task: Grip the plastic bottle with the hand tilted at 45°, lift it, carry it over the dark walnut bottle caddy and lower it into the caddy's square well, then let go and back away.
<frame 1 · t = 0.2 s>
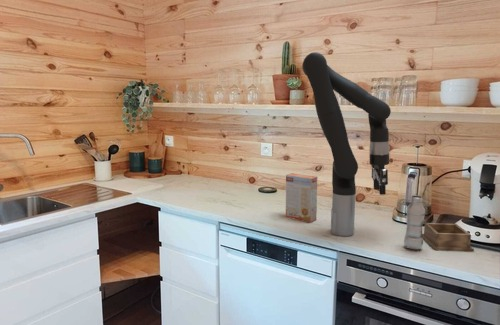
hand: (379, 191, 146), 18 cm above the countertop, tool pointing down, fingers open, 8 cm apart
plastic bottle: (412, 248, 134), on the countertop
bottle caddy: (445, 243, 138), on the countertop
cracker box: (300, 218, 169), on the countertop
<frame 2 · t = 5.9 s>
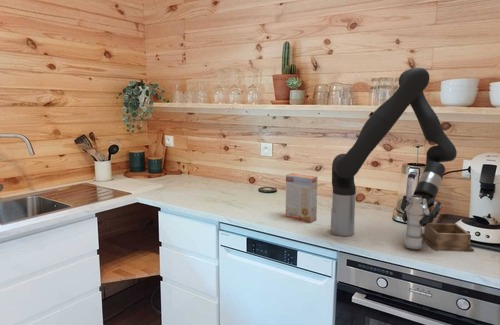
hand: (413, 223, 131), 10 cm above the countertop, tool tilted 45°, fingers closed on plastic bottle, 6 cm apart
plastic bottle: (412, 248, 134), on the countertop, touching gripper
everything else where it was.
when the fingers open (13 cm above the countertop, at t = 10.8 s): plastic bottle drops 1 cm, resting on bottle caddy.
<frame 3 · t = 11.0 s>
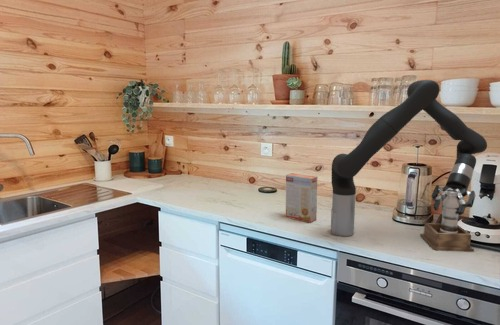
hand: (447, 211, 135), 13 cm above the countertop, tool tilted 45°, fingers open, 8 cm apart
plastic bottle: (448, 241, 138), point 1 cm above the countertop, touching bottle caddy, gripper
everything else where it was.
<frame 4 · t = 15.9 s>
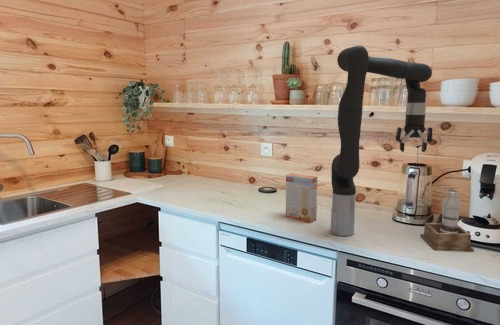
hand: (412, 151, 153), 33 cm above the countertop, tool pointing down, fingers open, 8 cm apart
plastic bottle: (448, 241, 138), point 1 cm above the countertop, touching bottle caddy
everything else where it was.
at the end: plastic bottle 0.8 cm off-centre on the bottle caddy, point 0.8 cm above the bottle caddy's base; plastic bottle tilted 0°; the gripper is holding nothing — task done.
